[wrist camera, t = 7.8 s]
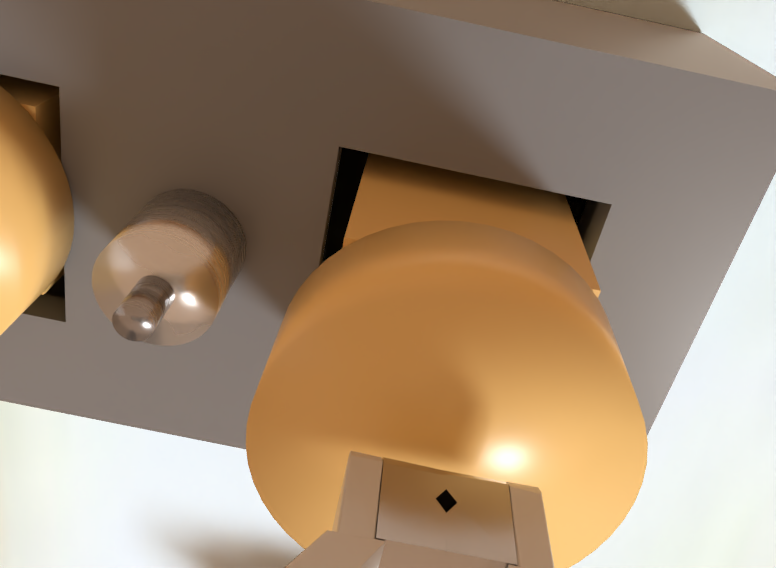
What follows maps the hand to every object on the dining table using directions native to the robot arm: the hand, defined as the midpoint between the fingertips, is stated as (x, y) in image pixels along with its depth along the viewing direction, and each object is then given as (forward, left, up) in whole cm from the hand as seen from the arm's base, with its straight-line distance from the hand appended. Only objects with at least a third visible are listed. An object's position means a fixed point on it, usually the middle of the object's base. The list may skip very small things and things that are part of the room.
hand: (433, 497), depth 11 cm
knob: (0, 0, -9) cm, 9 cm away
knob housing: (+5, -3, -14) cm, 15 cm away
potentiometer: (+5, -3, -7) cm, 9 cm away
